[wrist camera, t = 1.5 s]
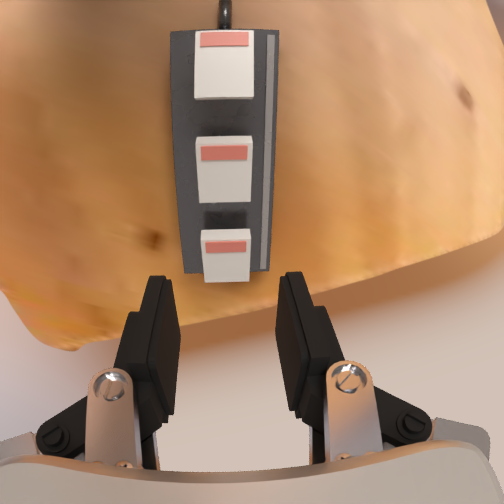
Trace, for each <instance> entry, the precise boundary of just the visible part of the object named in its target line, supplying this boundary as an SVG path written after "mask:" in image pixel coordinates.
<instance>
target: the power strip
mask: <svg viewBox="0 0 504 504" xmlns="http://www.w3.org/2000/svg"><path fill="white" fill-rule="evenodd" d="M231 22H232V0H219V16H218V29H206V30H188V31H175V32H171V33H170V64H171V108H172V132H173V150H174V166H175V180H176V193H177V205H178V216H179V227H180V237H181V246H182V255H183V264H184V273H204V269H203V260H202V250H201V230H218V229H250V234H251V251H250V272H257V271H269V265H270V247H271V228H272V208H273V188H274V166H275V142H276V116H277V88H278V55H279V30H263V29H231ZM212 30H254V97H253V99H215V100H195V98H194V73H195V33H196V31H212ZM209 136H252V141H253V151H252V177H251V202H216V203H199V191H198V177H197V161H196V145H195V144H196V139H197V137H209Z"/></svg>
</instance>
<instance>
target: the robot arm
mask: <svg viewBox="0 0 504 504" xmlns="http://www.w3.org/2000/svg"><path fill="white" fill-rule="evenodd" d="M275 332H276V333H275V334H276V341H277V347H278V352H279V358H280V363H281V369H282V374H283V379H284V385H285V390H286V396H287V401H288V407H289V410H290V411H295V415H296V418H302V421H303V422H304V423H306V424H307V425H309V432H310V435H309V437H310V438H309V439H310V440H309V443H310V444H309V465H307V466H299V467H291V468H282V469H271V470H259V471H244V472H174V471H160V464H159V456H158V448H157V440H156V432H155V431H156V430H158V429H159V428H160V427H161V426H162V423H168V416H169V415H173V414H174V405H175V393H176V381H177V371H178V359H179V351H180V340H181V338H180V337H181V335H180V328H179V323H178V317H177V311H176V306H175V300H174V294H173V287H172V282H171V279H167V280H166V277H165V276H150V277H149V279H148V283H147V286H146V289H145V293H144V296H143V300H142V304H141V307H140V311H139V312H130V313H129V314H128V317H127V320H126V324H125V327H124V330H123V334H122V337H121V342H120V345H119V348H118V352H117V356H116V359H115V363H114V367H113V368H108V369H104V370H102V371H100V372H98V373H97V374H96V375H94V376H93V378H92V380H91V381H90V383H89V387H88V395H87V396H86V397H84V398H83V399H81V400H79V401H78V402H76V403H75V404H73V405H72V406H70V407H68V408H67V409H65V410H64V411H62V412H61V413H59V414H57V415H56V416H54V417H52V418H51V419H49V420H48V421H46V422H45V423H43V425H41V426H40V428H39V429H38V431H37V433H35V434H33V433H32V432H29V433H26V434H23V435H20V436H17V437H14V438H11V439H7V440H4V441H1V442H0V504H504V494H503V491H502V489H501V486H500V484H499V481H498V479H497V476H496V474H495V472H494V470H493V468H492V467H491V465H490V463H489V452H490V437H489V435H488V433H487V432H486V431H485V430H484V429H483V428H481V427H478V426H473V425H468V424H464V423H459V422H454V421H450V420H446V419H442V418H437V417H436V418H435V420H433V419H430V417H429V416H428V415H427V414H426V412H424V411H423V410H421V409H419V408H417V407H415V406H413V405H411V404H409V403H407V402H405V401H403V400H401V399H399V398H397V397H395V396H393V395H391V394H389V393H387V392H385V391H383V390H381V389H379V388H377V387H375V386H373V381H372V377H371V375H370V372H369V371H368V370H367V369H366V367H364V366H363V365H361V364H360V363H357V362H354V361H348V360H346V361H345V359H344V357H343V353H342V351H341V348H340V345H339V343H338V340H337V337H336V334H335V331H334V329H333V326H332V323H331V321H330V318H329V315H328V313H327V310H326V308H325V307H324V306H314V305H313V302H312V300H311V297H310V294H309V291H308V288H307V285H306V282H305V279H304V276H303V274H302V272H286V274H285V276H281V277H280V284H279V295H278V308H277V318H276V328H275Z"/></svg>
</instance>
